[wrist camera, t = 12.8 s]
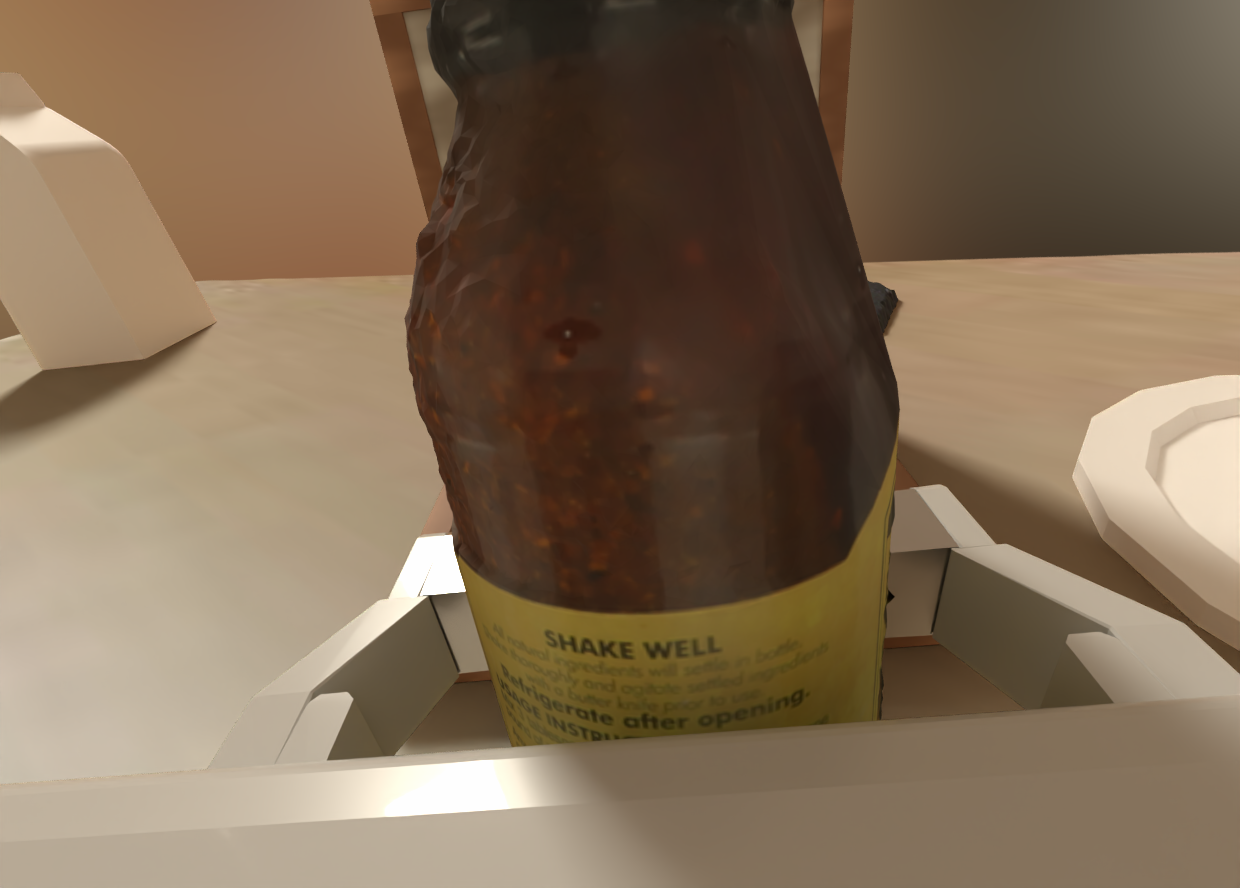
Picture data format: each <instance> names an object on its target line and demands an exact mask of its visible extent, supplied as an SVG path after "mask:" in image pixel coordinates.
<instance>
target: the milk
mask: <svg viewBox="0 0 1240 888" xmlns="http://www.w3.org/2000/svg"><path fill="white" fill-rule="evenodd" d="M0 299H1V301H2V302H3V304H4V306H5V307H6V309H7V311H8V313H9V314H10V316H11V318H12V320H13V321H14V323H15V325H16V326H17V328H18V330H19V331H20V333H21V335H22V337H23V338H24V340H25V342H26V343H27V345H28V347H29V349H30V350H31V352H32V354H33V355H34V357H35V359H36V360H37V362H38V364H39V366H40V367H41V369H42V370H50V369H59V368H69V367H78V366H87V365H96V364H105V363H114V362H123V361H132V360H142V359H146V358H148V357H150V356H152V355H154V354H156V353H157V352H159V351H161V350H163V349H165V348H167V347H169V346H171V345H173V344H175V343H177V342H179V341H181V340H183V339H185V338H186V337H188V336H190V335H192V334H194V333H196V332H198V331H200V330H202V329H204V328H206V327H208V326H210V325H212V324H214V323H215V322H217V321H216V319H215V317H214V315H213V314H212V312H211V310H210V308H209V306H208V305H207V303H206V301H205V299H204V297H203V296H202V294H201V292H200V290H199V288H198V287H197V285H196V283H195V281H194V280H193V278H192V276H191V274H190V272H189V271H188V269H187V267H186V265H185V263H184V262H183V260H182V258H181V256H180V254H179V253H178V251H177V249H176V247H175V245H174V244H173V242H172V240H171V239H170V236H169V235H168V233H167V231H166V229H165V227H164V226H163V224H162V222H161V220H160V218H159V217H158V215H157V213H156V211H155V210H154V208H153V206H152V204H151V202H150V201H149V199H148V197H147V195H146V193H145V192H144V190H143V188H142V186H141V184H140V183H139V181H138V179H137V177H136V175H135V174H134V172H133V170H132V169H131V166H130V165H129V163H128V162H127V160H126V159H125V158H124V156H123V155H122V154H121V153H120V152H119V151H118V150H117V149H115V148H114V147H113V146H111V145H110V144H109V143H107V142H106V141H104V140H102V139H101V138H99V137H98V136H96V135H94V134H92V133H91V132H89V131H87V130H86V129H84V128H82V127H80V126H78V125H77V124H75V123H74V122H72V121H70V120H68V119H67V118H65V117H63V116H62V115H60V114H58V113H56V112H55V111H53V110H51V109H49V108H47V107H45V104H44V103H43V102H42V101H41V99H40V98H39V97H38V96H37V94H36V93H35V92H34V91H33V90H32V88H31V87H30V86H29V85H28V83H27V82H26V81H25V80H24V79H23V77H22V76H21V75H20V74H19V73H4V72H0Z"/></svg>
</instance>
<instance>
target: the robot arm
mask: <svg viewBox="0 0 1240 888" xmlns="http://www.w3.org/2000/svg"><path fill="white" fill-rule="evenodd" d="M894 496H895V518H894V522H893V525H892V529H891V542H890V556H889V572H888V590H889V594H888V597H887V602H886V610H887V629H886V634H885V638H890V637H908V636H926V635H933V636H932V638H933V639H935V640H936V641H937V642H938V643H940V644H941V645H942V646H944V647H945V648H946V649H948V650H949V651H950V652H951V653H953V654H954V655H955V656H957V657H958V658H959V659H961V660H962V661H963V662H965V663H966V664H967V665H968V666H970V667H971V668H972V669H974V670H975V671H976V672H978V673H979V674H980V675H981V676H983V677H984V678H985V679H987V680H988V681H989V682H991V683H992V684H993V685H994V686H996V687H997V688H998V689H1000V690H1001V691H1002V692H1004V693H1005V694H1006V695H1008V696H1009V697H1010V698H1011V699H1013V700H1014V701H1015V702H1017V703H1018V704H1019V705H1021V706H1022V707H1023V708H1024V709H1026V710H1016V711H1002V712H988V713H975V714H961V715H947V716H933V717H919V718H905V719H892V720H878V721H864V722H850V723H836V724H822V725H808V726H794V727H781V728H767V729H753V730H740V731H726V732H712V733H699V734H685V735H671V736H657V737H644V738H630V739H616V740H603V741H589V742H575V743H562V744H548V745H534V746H520V747H507V748H493V749H479V750H466V751H452V752H438V753H424V754H411V755H397V756H394V755H395V754H396V752H397V751H398V750H399V749H400V748H401V746H402V745H403V744H404V743H405V742H406V740H407V739H408V738H409V737H410V736H411V734H412V733H413V732H414V731H415V730H416V728H417V727H418V726H419V725H420V723H421V722H422V721H423V720H424V719H425V717H426V716H427V715H428V714H429V713H430V711H431V710H432V709H433V708H434V707H435V705H436V704H437V703H438V702H439V700H440V699H441V698H442V697H443V696H444V694H445V693H446V692H447V691H448V690H449V688H450V687H451V686H452V685H453V684H454V682H455V681H456V680H457V679H458V677H459V674H460V673H469V672H478V671H487V670H489V669H488V666H487V662H486V659H485V656H484V652H483V649H482V646H481V643H480V639H479V636H478V633H477V629H476V626H475V623H474V619H473V616H472V613H471V609H470V606H469V603H468V599H467V596H466V592H465V589H464V586H463V582H462V579H461V575H460V572H459V569H458V565H457V562H456V558H455V555H454V551H453V544H452V532H449V533H435V534H424V535H421V536H420V537H418V538H417V539H416V541H415V543H414V545H413V547H412V549H411V551H410V553H409V556H408V558H407V560H406V562H405V564H404V566H403V568H402V570H401V572H400V574H399V577H398V579H397V581H396V583H395V585H394V587H393V589H392V591H391V593H390V595H389V597H388V599H385V600H379V601H377V602H376V603H375V604H373V605H372V606H371V607H370V608H368V609H367V610H366V611H364V612H363V613H362V614H360V615H359V616H358V617H356V618H355V619H354V620H352V621H351V622H350V623H349V624H347V625H346V626H345V627H343V628H342V629H341V630H339V631H338V632H337V633H335V634H334V635H333V636H331V637H330V638H329V639H328V640H326V641H325V642H324V643H322V644H321V645H320V646H318V647H317V648H316V649H314V650H313V651H312V652H311V653H309V654H308V655H307V656H305V657H304V658H303V659H301V660H300V661H299V662H297V663H296V664H295V665H293V666H292V667H291V668H290V669H288V670H287V671H286V672H284V673H283V674H282V675H280V676H279V677H278V678H276V679H275V680H274V681H272V682H271V683H270V684H269V685H267V686H266V687H265V688H263V689H262V690H261V691H259V692H258V693H257V694H255V695H254V696H253V697H252V698H251V699H250V701H249V703H248V704H247V706H246V707H245V709H244V711H243V712H242V714H241V715H240V717H239V718H238V720H237V722H236V723H235V725H234V726H233V728H232V730H231V731H230V733H229V734H228V736H227V738H226V739H225V741H224V742H223V744H222V746H221V747H220V749H219V750H218V752H217V754H216V755H215V757H214V758H213V760H212V761H211V763H210V765H209V766H208V768H207V769H205V770H191V771H178V772H164V773H150V774H136V775H123V776H109V777H95V778H82V779H68V780H54V781H40V782H27V783H13V784H0V888H1240V674H1239V673H1238V672H1237V671H1236V670H1235V669H1233V668H1232V667H1231V666H1230V665H1229V664H1228V663H1227V662H1226V661H1225V660H1224V659H1223V658H1222V657H1220V656H1219V655H1218V654H1217V653H1216V652H1215V651H1214V650H1213V649H1212V648H1211V647H1210V646H1208V645H1207V644H1206V643H1205V642H1204V641H1203V640H1202V639H1201V638H1200V637H1199V636H1198V635H1197V634H1195V633H1194V632H1193V631H1192V630H1191V629H1190V628H1189V627H1188V626H1187V625H1186V624H1185V623H1183V622H1180V621H1178V620H1176V619H1174V618H1171V617H1169V616H1167V615H1165V614H1162V613H1160V612H1158V611H1156V610H1153V609H1151V608H1149V607H1147V606H1145V605H1142V604H1140V603H1138V602H1136V601H1133V600H1131V599H1129V598H1127V597H1124V596H1122V595H1120V594H1118V593H1115V592H1113V591H1111V590H1109V589H1107V588H1104V587H1102V586H1100V585H1098V584H1095V583H1093V582H1091V581H1089V580H1086V579H1084V578H1082V577H1080V576H1077V575H1075V574H1073V573H1071V572H1068V571H1066V570H1064V569H1062V568H1060V567H1057V566H1055V565H1053V564H1051V563H1048V562H1046V561H1044V560H1042V559H1039V558H1037V557H1035V556H1033V555H1030V554H1028V553H1026V552H1024V551H1021V550H1019V549H1017V548H1015V547H1013V546H1010V545H1008V544H996V543H995V542H994V541H993V540H992V539H991V538H990V536H989V535H988V534H987V533H986V532H985V531H984V530H983V528H982V527H981V526H980V525H979V524H978V523H977V521H976V520H975V519H974V518H973V517H972V516H971V515H970V513H969V512H968V511H967V510H966V509H965V508H964V507H963V505H962V504H961V503H960V502H959V501H958V500H957V499H956V497H955V496H954V495H953V494H952V493H951V492H950V491H949V489H948V488H947V487H945V486H943V485H941V484H938V485H930V486H922V487H914V488H910V489H905V490H896V491H894Z"/></svg>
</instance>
